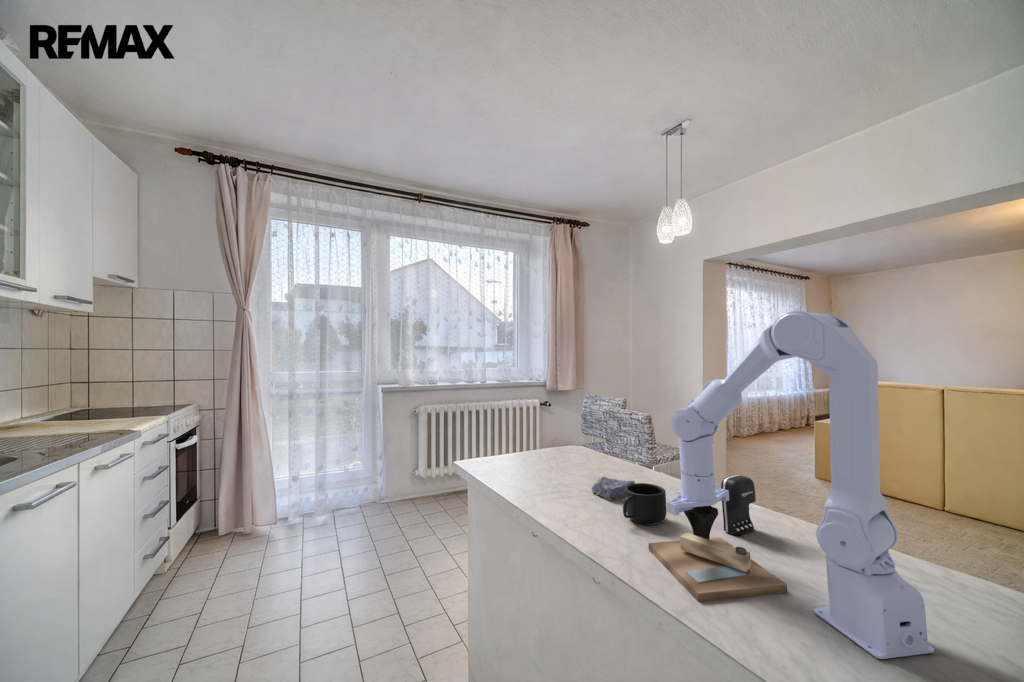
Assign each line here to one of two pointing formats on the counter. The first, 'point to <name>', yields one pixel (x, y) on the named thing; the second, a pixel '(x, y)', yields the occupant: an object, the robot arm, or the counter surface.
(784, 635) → the counter surface
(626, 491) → the mug
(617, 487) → the rock
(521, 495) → the counter surface
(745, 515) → the battery charger
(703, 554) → the leg
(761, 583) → the board
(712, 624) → the counter surface
